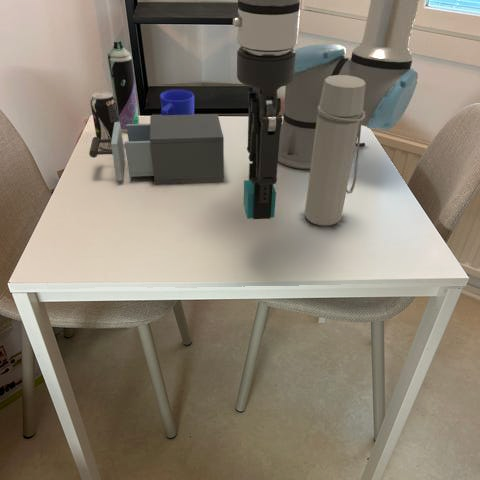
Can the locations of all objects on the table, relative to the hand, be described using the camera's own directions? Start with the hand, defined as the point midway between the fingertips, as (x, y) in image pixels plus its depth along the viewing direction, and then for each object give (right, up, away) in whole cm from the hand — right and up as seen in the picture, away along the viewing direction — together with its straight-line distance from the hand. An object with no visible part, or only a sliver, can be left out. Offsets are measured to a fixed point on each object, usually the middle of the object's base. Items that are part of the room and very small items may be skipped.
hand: (259, 209), depth 77 cm
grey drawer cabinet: (-15, +16, +31) cm, 37 cm away
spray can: (-32, +32, +47) cm, 65 cm away
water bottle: (+14, +2, +17) cm, 22 cm away
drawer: (-26, +16, +29) cm, 42 cm away
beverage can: (-34, +24, +39) cm, 57 cm away
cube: (0, 0, 0) cm, 0 cm away
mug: (-19, +27, +43) cm, 54 cm away
